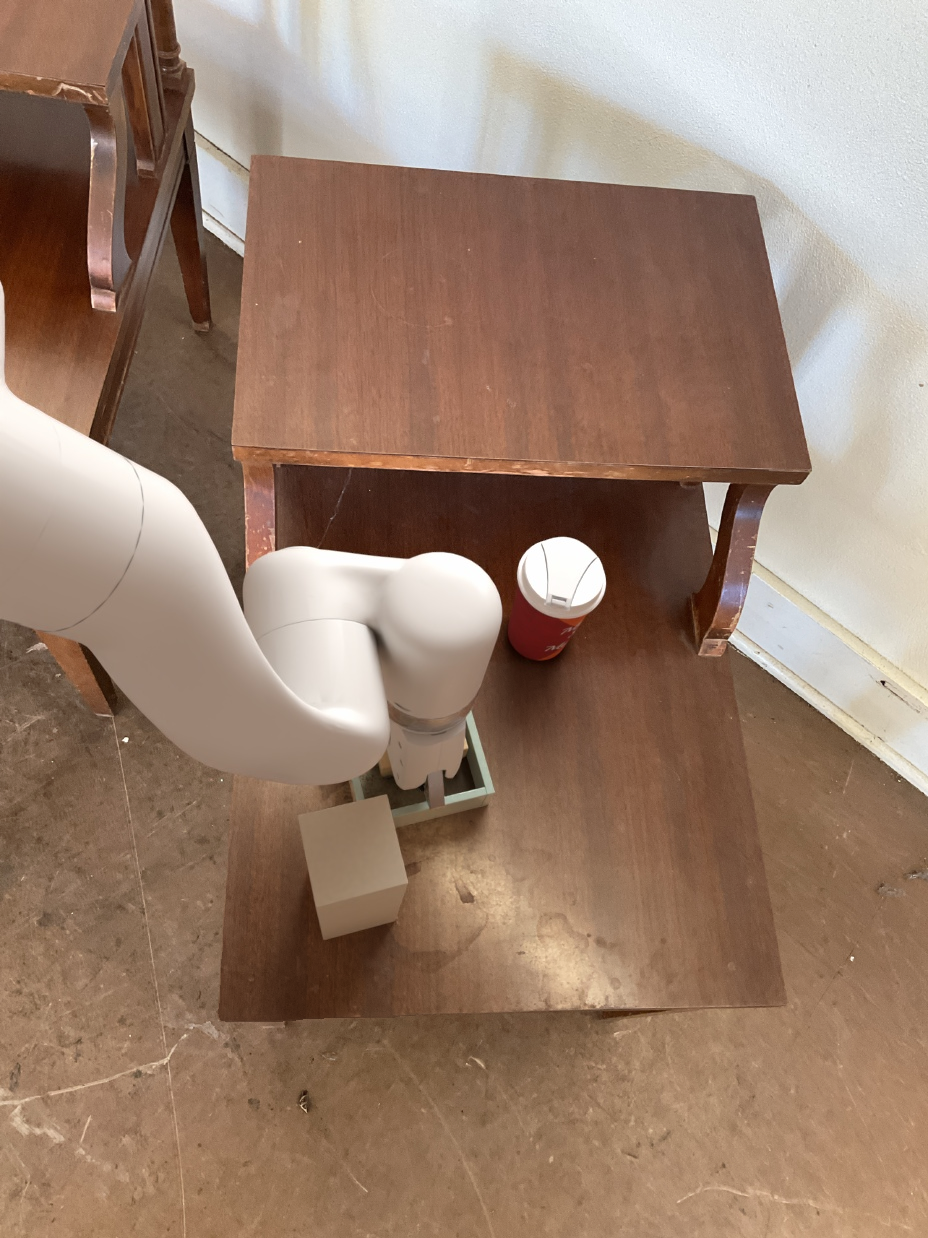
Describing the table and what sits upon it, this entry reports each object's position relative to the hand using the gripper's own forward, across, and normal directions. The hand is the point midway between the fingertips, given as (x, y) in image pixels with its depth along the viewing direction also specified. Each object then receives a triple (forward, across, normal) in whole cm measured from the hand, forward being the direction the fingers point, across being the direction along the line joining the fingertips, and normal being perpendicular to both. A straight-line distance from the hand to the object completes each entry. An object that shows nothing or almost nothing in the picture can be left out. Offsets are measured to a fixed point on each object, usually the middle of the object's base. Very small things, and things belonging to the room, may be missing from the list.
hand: (411, 753), depth 80 cm
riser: (+3, +10, -8) cm, 13 cm away
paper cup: (+3, -9, +15) cm, 18 cm away
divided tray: (+3, -5, 0) cm, 6 cm away
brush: (0, 0, +1) cm, 1 cm away
